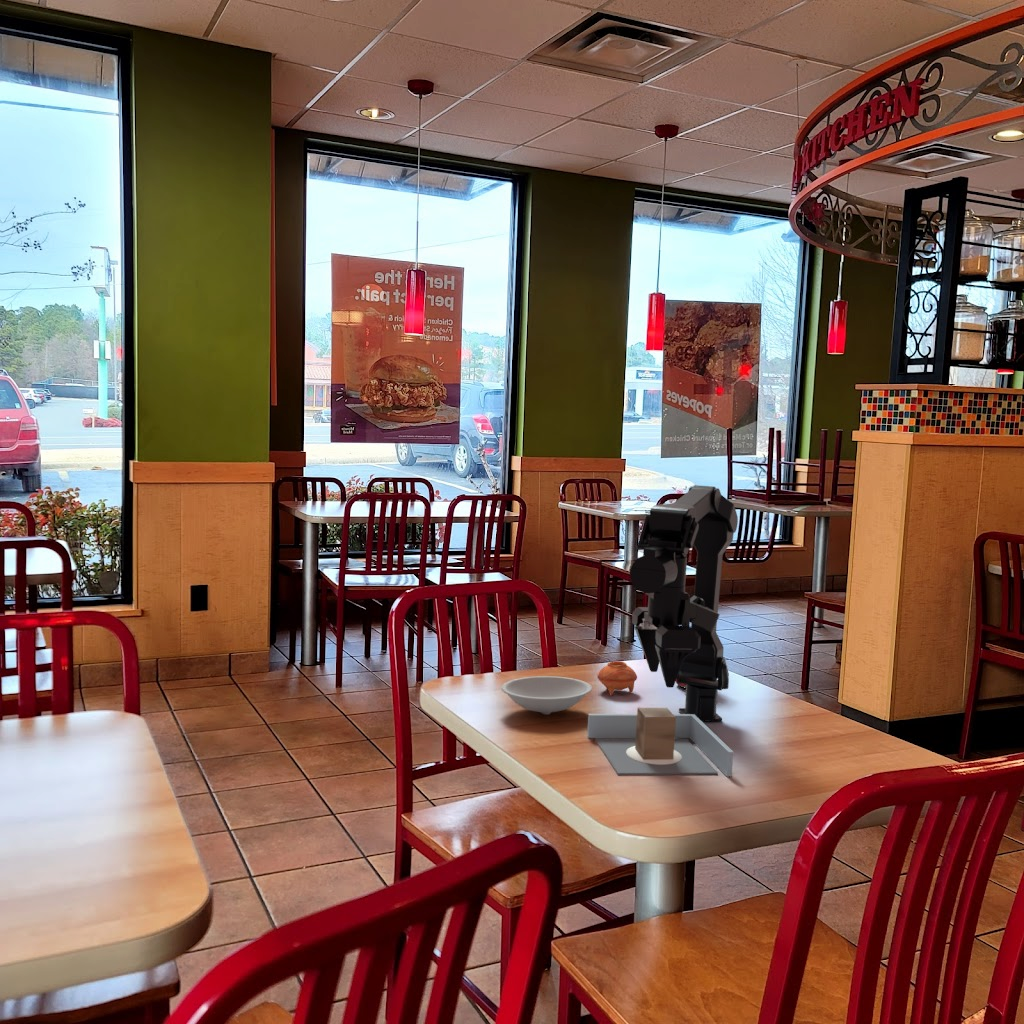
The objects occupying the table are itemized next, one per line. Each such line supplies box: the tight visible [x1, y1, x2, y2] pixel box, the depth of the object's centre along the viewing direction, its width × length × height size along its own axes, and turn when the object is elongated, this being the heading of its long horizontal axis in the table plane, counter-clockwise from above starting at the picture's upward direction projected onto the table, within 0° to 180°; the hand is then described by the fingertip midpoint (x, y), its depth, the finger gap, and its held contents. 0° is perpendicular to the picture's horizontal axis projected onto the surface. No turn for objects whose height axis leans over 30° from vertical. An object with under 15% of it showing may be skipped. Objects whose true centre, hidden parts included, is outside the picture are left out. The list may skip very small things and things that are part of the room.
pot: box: [597, 660, 638, 697], centre depth 193 cm, size 8×8×7 cm
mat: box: [594, 738, 719, 776], centre depth 156 cm, size 16×16×1 cm
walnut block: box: [635, 707, 676, 760], centre depth 156 cm, size 5×5×7 cm
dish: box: [501, 675, 593, 715], centre depth 177 cm, size 18×14×5 cm
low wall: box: [586, 713, 734, 778], centre depth 157 cm, size 19×19×4 cm
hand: (661, 679), depth 156 cm, fingers open, 9 cm apart
